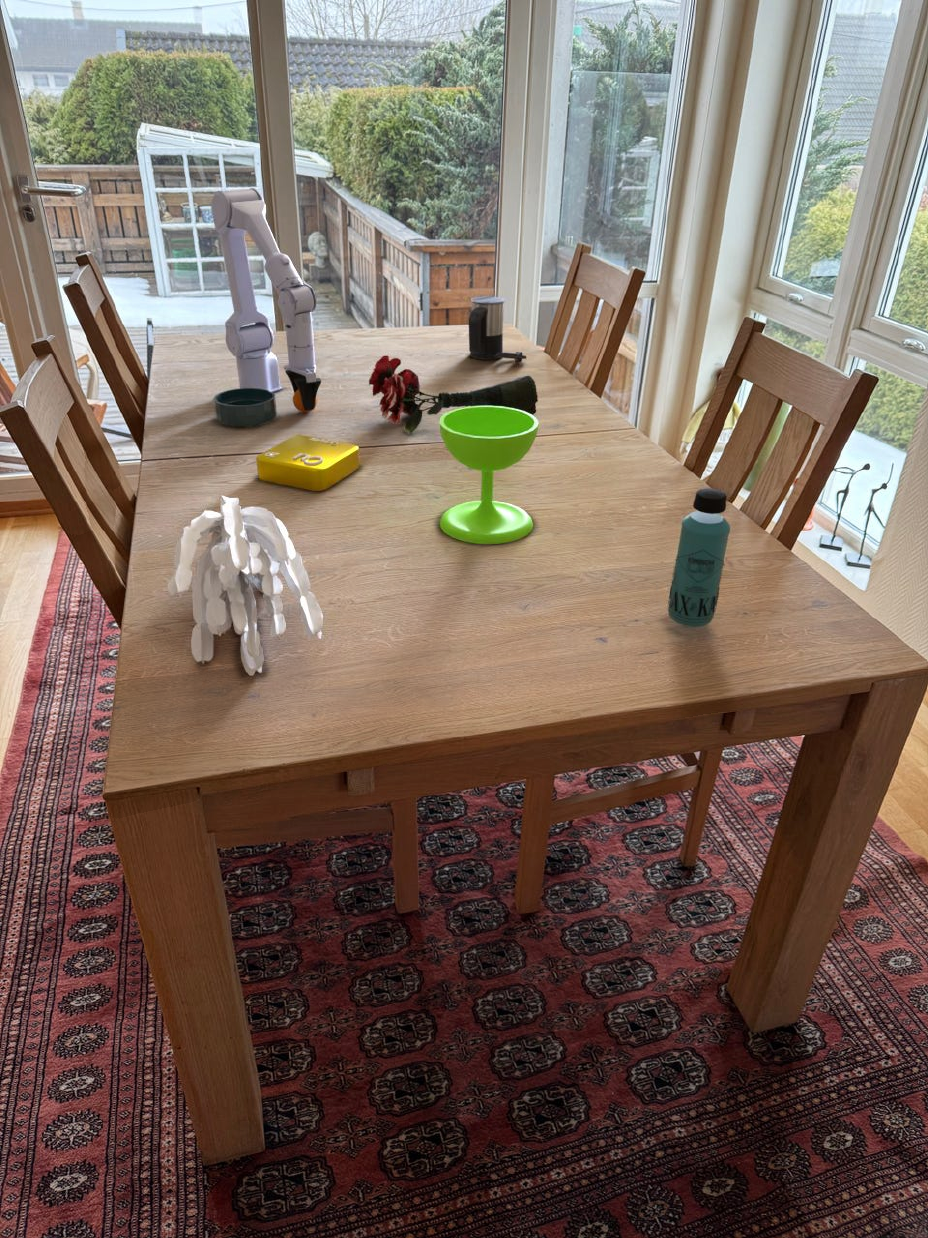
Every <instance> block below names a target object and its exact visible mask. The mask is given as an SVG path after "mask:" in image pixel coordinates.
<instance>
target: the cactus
mask: <svg viewBox="0 0 928 1238" xmlns="http://www.w3.org/2000/svg"><path fill="white" fill-rule="evenodd" d="M239 502H240V499H239V497H227V496H225V495H222V494H221V495H220V499H219V507H220V508H219V510H220V511H219V512H218V511H217V512H216V511H213V510H206V509H205V510H204V511H203V513H202V514H201V515H200V516H197V517H195V518H193V519H192V520H190V524H189V525H188V526H184V527H183V528H182V535H181V536H180V538H179V539H178V540H177V542H176V544H175V552H174V557H173V567H174V569H175V572H174V574H173V575H172V577H171V579H170V581H169V582H168V584H166V587H167V591H168V594H169V595H170V596H176V595H178V597H179V598H180V600H183V594H184V593H186V592H187V591H188V590H189V588H190V587H191V592H192V601H191V602H192V616H193V620H194V622H195V623H196V624H195V625H194V627H193V629H192V631H191V639H190V648H191V656H192V657H193V659H194V660H195V662H197V663H198V662H201V663H202V665H205V662H210V661H211V660H212V659H213V657H214V649H215V648H214V647H215V645H214V641H215V638H214V635H217V636H219V637H221V636H222V634H224V635H225V634H226V632H227V631H228V630H230V629H231V627H232V624H233V629H234V632H235V634H237V635H240V647H239V648H240V660H241V662H242V665H243V668H244V671H245V673H247V674H248V676H250V677H253V676H254V675H255V674H256V672H257V673H259V674H262V672H263V671H262V670H263V664H264V661H265V656H264V653H263V651H264V650H263V647H262V645H261V634H260V632H259V630H257V629H258V624H257V623H258V621H259V620H258V610H257V601H256V598H255V594H254V590H253V587H252V584H253V585H254V587H255V588H256V589H257V590H258V591H260V592H261V593H263V595H262V599H263V601H264V603H265V607H266V610H267V614H269V615H270V617H271V621H270V623H269V635H270V638H272V639H274V638H277V637H278V639H279V640H281V639H282V635H283V634H284V633H285V631H286V628H287V622H286V618H285V616H284V614H282V612H283V611H284V610H283V609H284V607H283V603H284V602H283V600H282V599H281V598H282V596H281V594H282V593H283V590H284V585H283V582H282V580H281V579H280V578H279V577H278V576H277V574H278V572H280V574H281V575H282V576H283V578H284V581H285V583H286V586H287V587H288V589H289V591H290V592H291V594H292V595H293V596H295V598H297V599H298V601H299V604H300V608H299V609H300V610H299V612H300V613H299V616H300V621H301V629H302V632H303V634H304V636H305V637H306V639H307V640H308V641H312V640H313V638H314V637H315V636H316V637H317V638H318V639H320V640H321V639H322V635H323V634H322V628H323V623H324V616H323V610H322V609H321V607H320V605H319V602H318V600H317V597H316V596H315V594H314V593H313V592H311V591H310V590H311V589H312V585H311V581H310V578H309V574H308V571H307V569H306V568H305V566H304V563H303V558H302V555H301V554H300V553H299V552H297V551H296V550H295V547H294V542H293V541H292V540H291V539H290V537H289V532H288V530H287V527H286V526H285V525H284V523H283V521H282V520H281V519H279V518H276V516H275V515H274V513H273V511H271V510H268V508H266V507H262V506H246V507H244V508H242V507H241V505H240V504H239ZM208 534H212V535H211V539H210V541H209V543H208V545H207V547H206V548H205V550H204V552H202V554H201V555H200V557H199V559H198V561H197V563H196V564H195V577H194V578H193V576H194V575H193V571H192V570H191V565H192V564H193V562H194V560H195V557H196V555H197V551H198V543H200V541H201V540H203V539H206V537H207V535H208ZM192 578H193V579H192Z"/></svg>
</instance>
